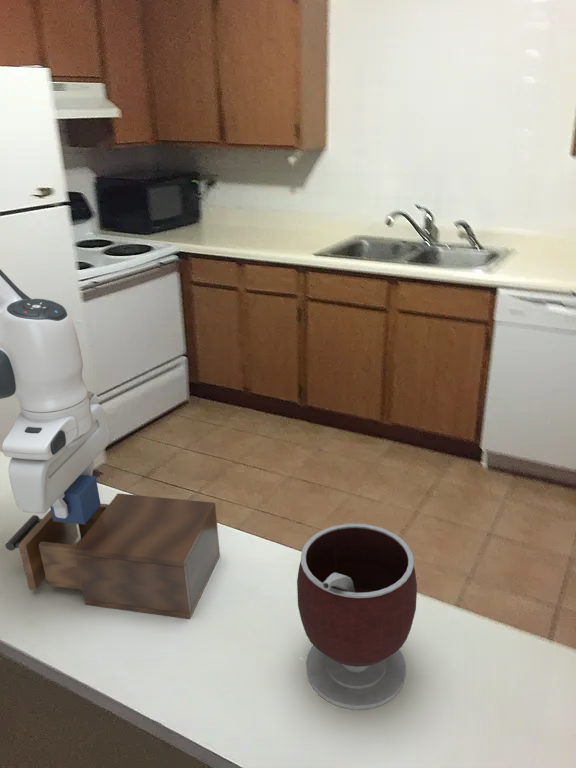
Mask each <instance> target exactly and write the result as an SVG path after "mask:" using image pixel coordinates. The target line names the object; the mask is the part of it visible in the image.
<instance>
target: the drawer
mask: <svg viewBox="0 0 576 768" xmlns="http://www.w3.org/2000/svg"><path fill="white" fill-rule="evenodd" d="M100 504H101V505H100V506H99V508H98V509H97V510H96V511H95V513H94V514H93V515H92V516H91V517H90V519H89V520H88V521H87V522H86V524H75V523H65V522H56V521H53V518H52V513H51V509H50V510H48V511H47V513H46V514H45V516H44V517H43V518H40V517H39V516H38V515H36V514H33V515H31V516H30V518H28V520H27V521H26V522H24V524H23V525H22V526H21V527H20V528H19V529H18V530H17V531H16V532H15V533H14V534H13V535H12V537H10V539H8V541H7V542H6V543H5V545H4V547H5V549H7V551H10V552H14V551H15V550H16V549H18V550H19V552H20V557H21V562H22V566H23V570H24V574H25V577H26V578H25V579H26V582H27V587H28V589H29V590H31V591H32V590H33V591H37V590H38V589H39V588H40V586H41V585H42V584H43V582H44V581H46V584H47V586H49V587H57V588H64V589H65V588H66V589H72V590H79V591H80V590H81V591H82V586H81V581H80V577H79V572H78V567H77V562H76V557H75V552H74V548H75V547H76V546H77V544H78V543H79V542H80V541H81V539H82V538H83V537H84V536H85V534H86V533H87V532H88V531H89V529H90V528H91V527H92V525H93V524H94V523H95V522H96V520H97V519H98V518H99V517H100V515H101V514H102V513H103V512H104V510H105V509H106V508H107V506H108V505H109V504H110V503H100ZM77 525H78V527H77ZM78 530H79V531H78ZM79 534H80V535H79ZM79 536H80V538H79ZM78 539H79V540H78ZM77 540H78V541H77ZM76 542H77V543H76ZM75 543H76V544H75Z"/></svg>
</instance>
